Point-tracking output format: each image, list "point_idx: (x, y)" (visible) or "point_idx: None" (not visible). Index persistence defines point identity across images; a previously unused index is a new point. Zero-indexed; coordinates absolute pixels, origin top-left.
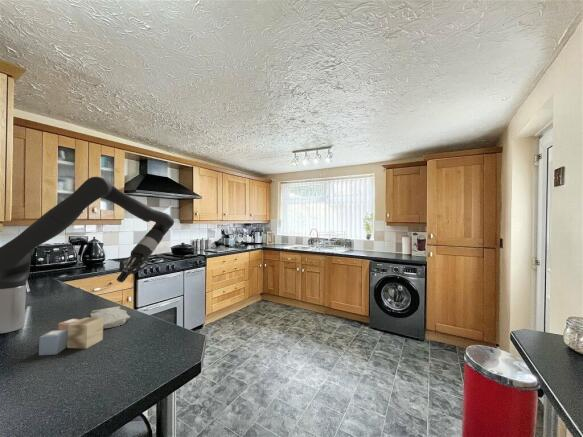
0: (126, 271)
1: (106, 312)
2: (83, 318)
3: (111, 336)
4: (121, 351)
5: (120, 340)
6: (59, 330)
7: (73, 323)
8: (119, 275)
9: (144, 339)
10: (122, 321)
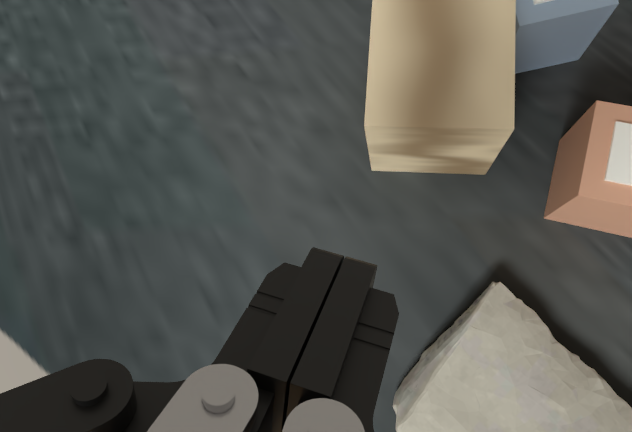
0: (202, 371)
1: None
2: (512, 108)
3: (349, 211)
4: (190, 58)
5: (265, 164)
6: (564, 12)
7: (498, 16)
8: (378, 353)
9: (146, 182)
10: (400, 397)
